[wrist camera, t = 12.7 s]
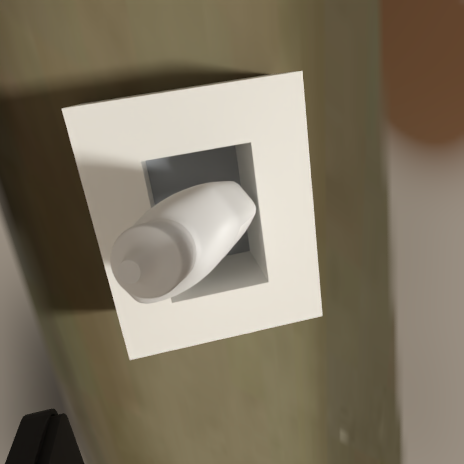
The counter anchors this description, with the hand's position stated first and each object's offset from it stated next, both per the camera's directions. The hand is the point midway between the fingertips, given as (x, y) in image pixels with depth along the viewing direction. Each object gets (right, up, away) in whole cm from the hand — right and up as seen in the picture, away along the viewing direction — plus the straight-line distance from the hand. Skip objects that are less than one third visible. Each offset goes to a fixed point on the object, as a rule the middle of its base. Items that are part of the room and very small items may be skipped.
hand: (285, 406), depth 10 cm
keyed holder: (-3, +6, +19) cm, 20 cm away
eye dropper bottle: (-2, +4, +15) cm, 15 cm away
